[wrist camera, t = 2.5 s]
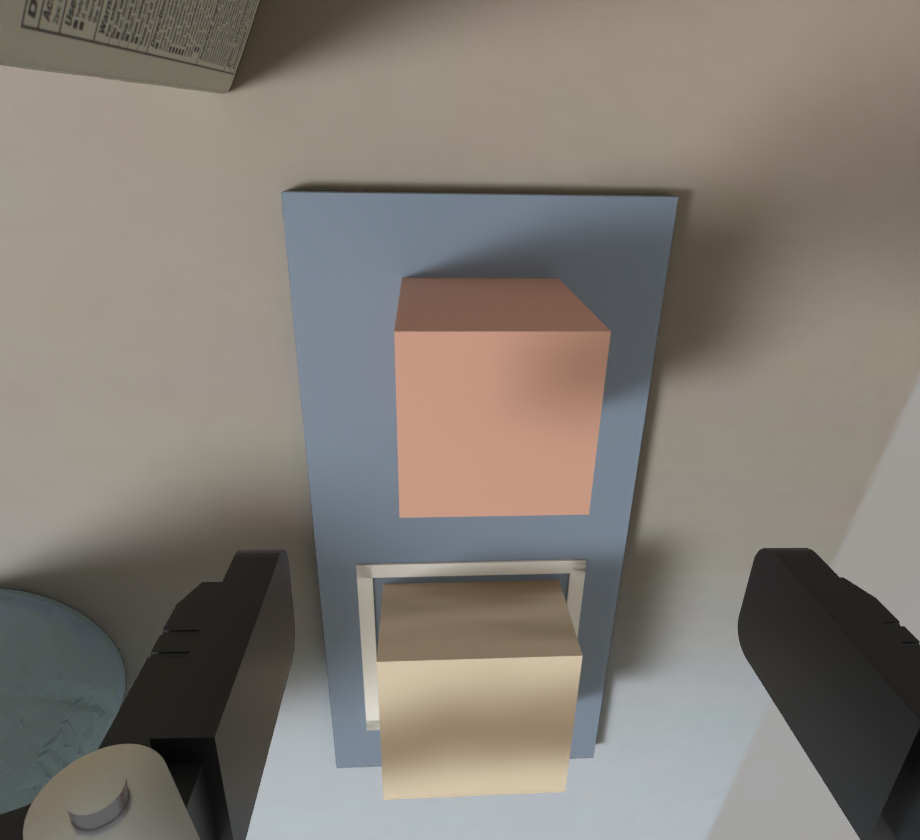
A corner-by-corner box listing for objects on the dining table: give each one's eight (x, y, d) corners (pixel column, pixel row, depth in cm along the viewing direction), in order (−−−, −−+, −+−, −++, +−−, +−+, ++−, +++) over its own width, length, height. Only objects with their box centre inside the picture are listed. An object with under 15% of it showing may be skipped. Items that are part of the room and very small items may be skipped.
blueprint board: (285, 190, 19) (280, 192, 18) (671, 195, 20) (679, 197, 19) (338, 756, 29) (336, 770, 29) (590, 746, 30) (593, 759, 29)
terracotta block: (401, 277, 20) (393, 331, 14) (558, 278, 20) (611, 331, 14) (405, 422, 22) (399, 517, 16) (547, 420, 22) (588, 514, 16)
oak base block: (383, 584, 24) (376, 661, 21) (559, 580, 25) (582, 655, 21) (388, 711, 27) (383, 799, 24) (546, 706, 28) (565, 791, 24)
